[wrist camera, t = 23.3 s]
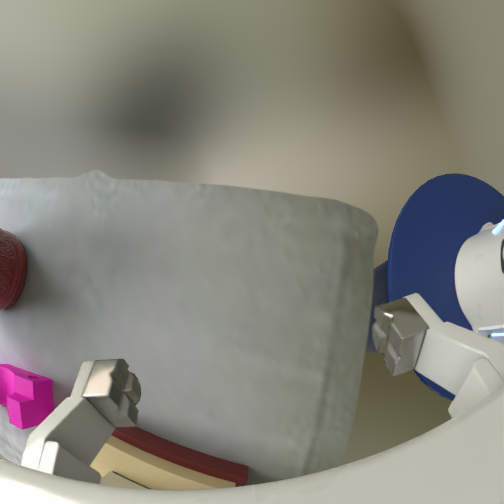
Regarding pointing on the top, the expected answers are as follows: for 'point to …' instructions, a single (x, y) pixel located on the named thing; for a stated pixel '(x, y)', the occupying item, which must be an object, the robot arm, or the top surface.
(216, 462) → the book stack
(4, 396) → the toy block
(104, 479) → the book
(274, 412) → the top surface
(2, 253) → the kitchen canister
